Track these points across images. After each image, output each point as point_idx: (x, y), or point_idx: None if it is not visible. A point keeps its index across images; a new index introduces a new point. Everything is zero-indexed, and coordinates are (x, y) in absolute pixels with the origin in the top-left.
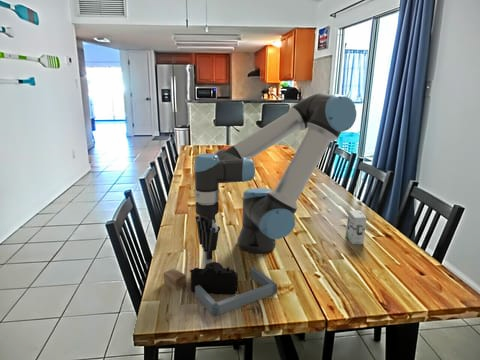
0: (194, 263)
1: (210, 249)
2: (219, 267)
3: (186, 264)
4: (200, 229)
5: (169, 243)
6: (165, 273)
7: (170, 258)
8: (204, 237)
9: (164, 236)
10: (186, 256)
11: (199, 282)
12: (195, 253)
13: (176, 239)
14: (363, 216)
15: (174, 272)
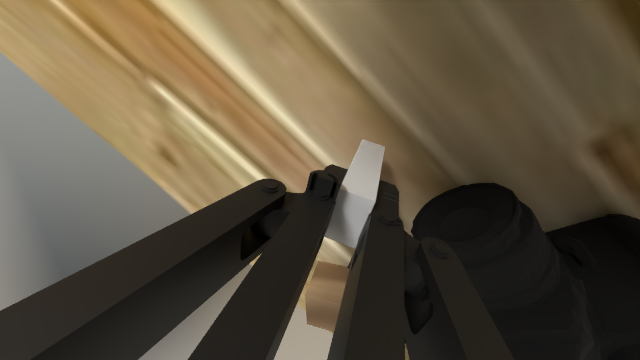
0: (281, 148)
1: (431, 310)
2: (592, 343)
3: (268, 174)
4: (151, 338)
5: (88, 94)
6: (315, 325)
7: (198, 177)
8: (289, 317)
9: (26, 64)
10: (213, 126)
11: None
12: (208, 75)
13: (57, 42)
14: None
15: (332, 313)
